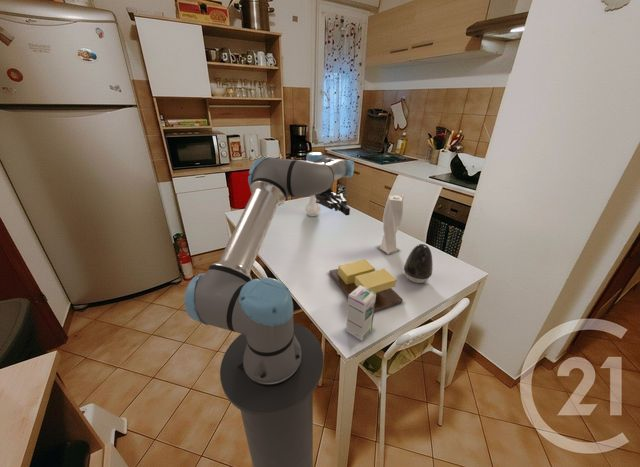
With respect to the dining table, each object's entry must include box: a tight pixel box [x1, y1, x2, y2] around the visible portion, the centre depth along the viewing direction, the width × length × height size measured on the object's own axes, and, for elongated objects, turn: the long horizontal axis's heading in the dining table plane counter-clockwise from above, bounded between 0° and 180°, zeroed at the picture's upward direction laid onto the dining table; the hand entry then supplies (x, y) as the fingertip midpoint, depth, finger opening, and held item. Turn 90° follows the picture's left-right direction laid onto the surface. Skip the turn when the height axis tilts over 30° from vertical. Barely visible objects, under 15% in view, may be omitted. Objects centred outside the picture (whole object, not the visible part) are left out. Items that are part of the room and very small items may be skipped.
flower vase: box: [304, 196, 321, 217], centre depth 151 cm, size 13×18×25 cm
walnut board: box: [328, 268, 404, 313], centre depth 98 cm, size 16×25×2 cm, turn 24°
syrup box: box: [346, 285, 376, 341], centre depth 76 cm, size 6×6×14 cm
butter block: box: [337, 258, 376, 284], centre depth 101 cm, size 12×7×4 cm, turn 114°
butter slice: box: [355, 268, 398, 293], centre depth 89 cm, size 12×7×3 cm, turn 114°
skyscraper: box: [377, 193, 405, 255], centre depth 115 cm, size 8×8×28 cm
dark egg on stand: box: [403, 243, 434, 284], centre depth 99 cm, size 10×10×15 cm
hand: (347, 211), depth 99 cm, fingers closed
